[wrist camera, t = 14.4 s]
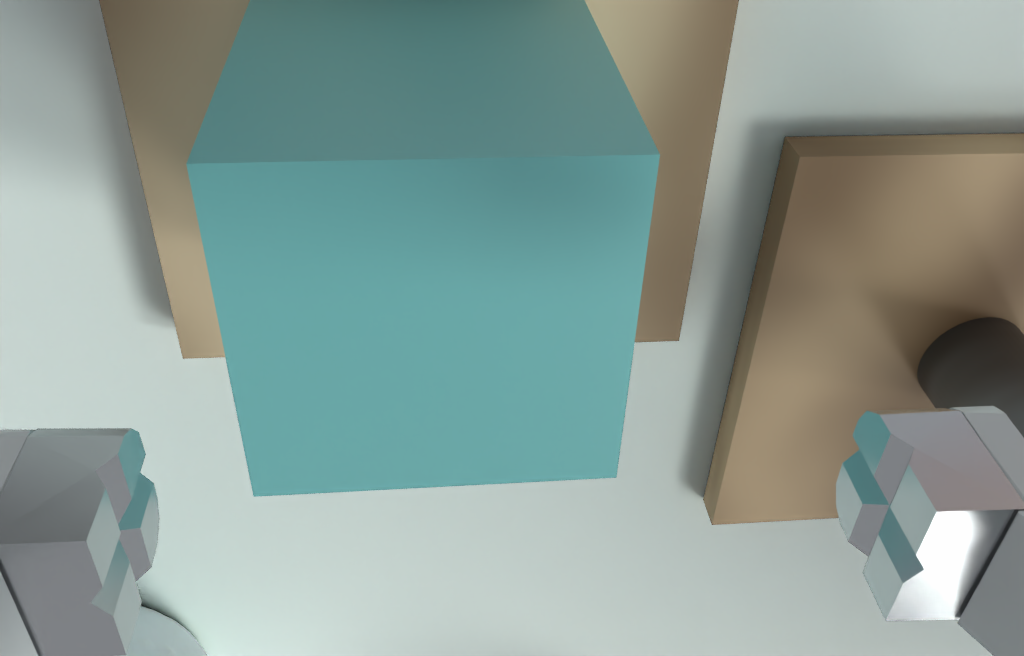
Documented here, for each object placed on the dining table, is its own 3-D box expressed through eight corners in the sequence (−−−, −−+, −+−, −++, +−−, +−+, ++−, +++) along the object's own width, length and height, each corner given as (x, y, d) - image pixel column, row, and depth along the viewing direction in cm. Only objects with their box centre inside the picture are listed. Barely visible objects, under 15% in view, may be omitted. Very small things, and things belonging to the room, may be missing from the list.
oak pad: (757, -220, 17) (775, -213, 16) (669, 317, 24) (678, 340, 23) (63, -237, 16) (45, -229, 15) (190, 332, 23) (183, 358, 22)
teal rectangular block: (577, -14, 18) (660, 154, 12) (559, 254, 21) (616, 477, 16) (254, -13, 17) (185, 163, 12) (292, 261, 21) (254, 496, 15)
